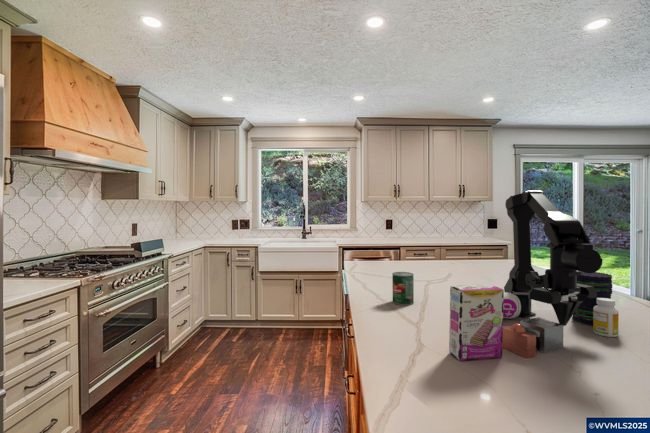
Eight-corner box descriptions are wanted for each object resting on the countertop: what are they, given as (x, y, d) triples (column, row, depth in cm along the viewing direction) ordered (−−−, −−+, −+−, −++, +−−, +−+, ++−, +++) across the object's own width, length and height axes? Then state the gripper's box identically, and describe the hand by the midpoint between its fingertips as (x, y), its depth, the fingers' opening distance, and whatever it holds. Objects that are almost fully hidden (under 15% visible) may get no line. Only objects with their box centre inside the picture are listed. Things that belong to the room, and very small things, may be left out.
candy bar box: (460, 362, 75) (460, 290, 75) (448, 353, 80) (448, 285, 80) (504, 358, 77) (504, 288, 77) (490, 349, 82) (490, 283, 82)
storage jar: (606, 319, 105) (606, 272, 105) (617, 329, 97) (618, 278, 96) (568, 315, 110) (568, 270, 110) (575, 324, 101) (576, 275, 101)
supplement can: (473, 318, 103) (521, 322, 103) (475, 292, 103) (522, 295, 103) (462, 312, 111) (506, 315, 111) (463, 287, 111) (508, 290, 111)
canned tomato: (416, 301, 127) (416, 273, 127) (409, 306, 120) (409, 276, 120) (396, 298, 131) (396, 271, 131) (389, 303, 124) (389, 274, 124)
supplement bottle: (612, 331, 94) (612, 297, 94) (622, 338, 89) (622, 302, 89) (589, 329, 96) (590, 296, 96) (598, 336, 91) (598, 300, 91)
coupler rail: (536, 339, 89) (536, 314, 88) (563, 349, 82) (563, 322, 82) (500, 347, 84) (500, 320, 84) (526, 358, 77) (526, 329, 77)
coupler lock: (538, 339, 89) (539, 317, 89) (563, 348, 83) (564, 324, 83) (519, 343, 86) (520, 320, 86) (544, 353, 80) (544, 328, 80)
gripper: (555, 260, 98) (555, 312, 98) (510, 264, 91) (510, 320, 91) (598, 266, 88) (597, 324, 88) (551, 270, 81) (550, 334, 81)
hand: (562, 325), depth 87 cm, fingers closed
